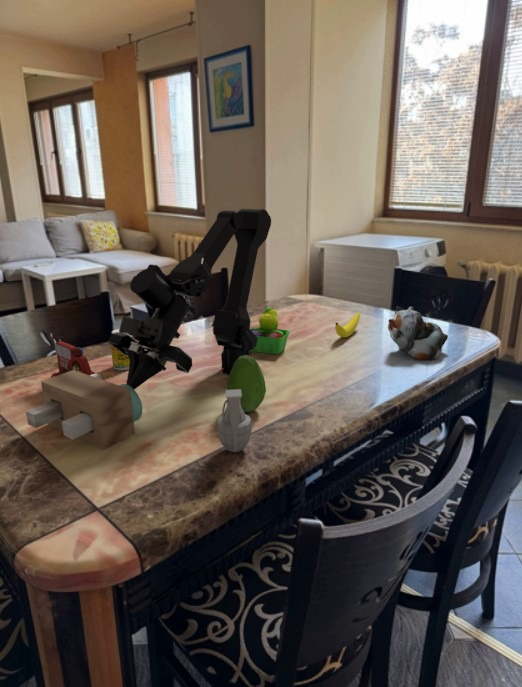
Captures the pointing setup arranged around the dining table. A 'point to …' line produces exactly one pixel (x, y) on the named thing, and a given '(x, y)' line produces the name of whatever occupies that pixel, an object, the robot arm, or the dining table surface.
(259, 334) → the fruit basket
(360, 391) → the dining table surface
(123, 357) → the supplement bottle
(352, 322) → the banana
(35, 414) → the walnut mount
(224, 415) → the hand grenade
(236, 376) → the avocado
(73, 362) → the toy fire truck
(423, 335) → the lucky cat figurine
